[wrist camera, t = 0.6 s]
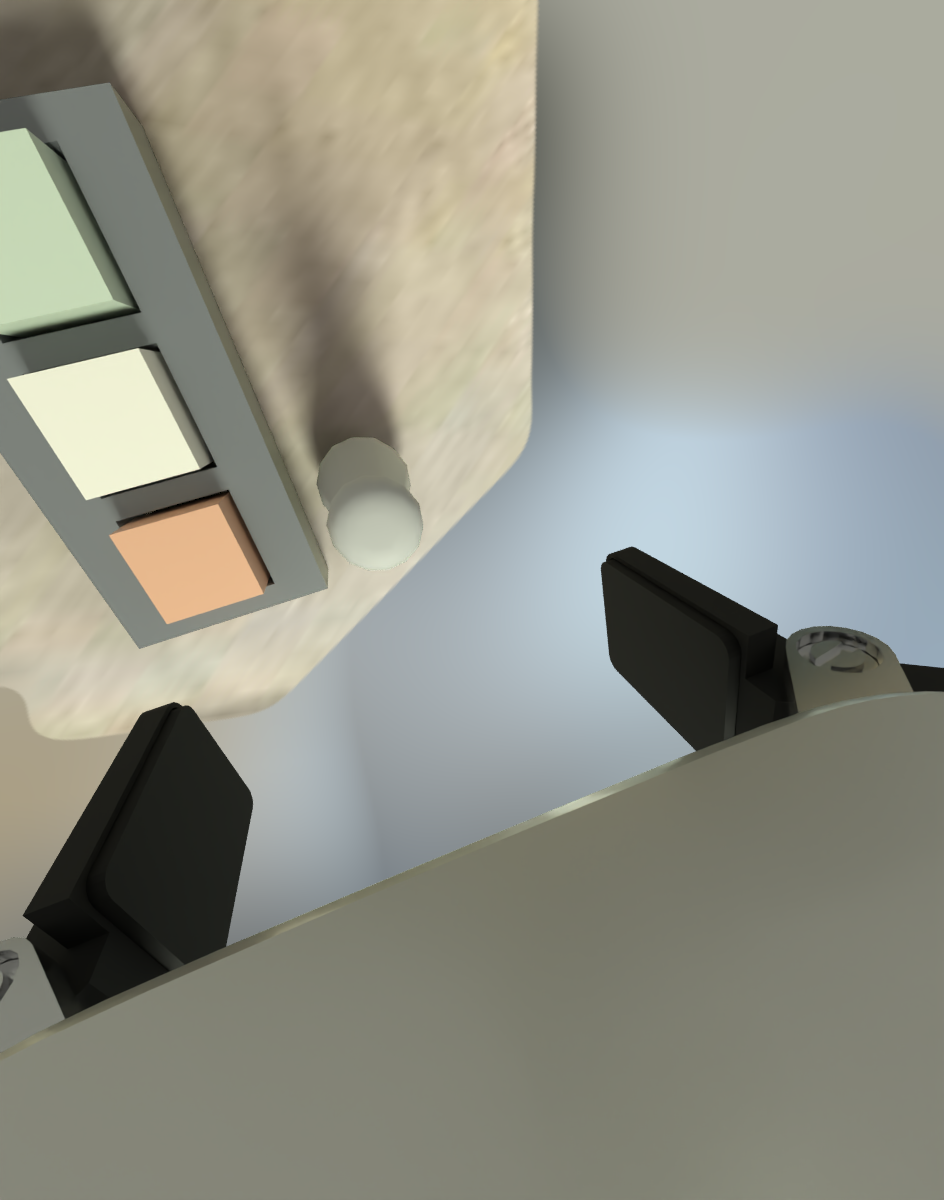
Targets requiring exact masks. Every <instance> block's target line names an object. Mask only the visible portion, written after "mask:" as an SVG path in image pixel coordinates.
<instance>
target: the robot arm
mask: <svg viewBox="0 0 944 1200" xmlns="http://www.w3.org/2000/svg"><path fill="white" fill-rule="evenodd" d="M601 575H602V585H603V596H604V606H605V616H606V626H607V637H608V647H609V655H610V660H611V662H612V664H613V666H614V668H615V669H616V670H617V671H618V672H619V673H620V674H621V675H622V676H623V677H624V678H625V679H626V680H627V681H628V682H629V683H630V684H631V685H632V686H633V687H634V688H635V689H636V690H637V692H638V693H639V694H641V696H642V697H643V698H645V700H647V702H648V703H649V704H650V705H651V706H652V707H653V708H654V709H655V710H656V711H657V712H658V713H659V714H660V715H661V716H662V717H663V718H664V719H666V721H667V722H668V723H669V724H670V725H671V726H672V727H673V728H674V729H675V730H676V731H677V732H678V733H679V734H680V735H681V736H682V737H683V738H684V739H685V740H686V741H687V742H688V743H689V744H690V745H691V746H692V747H693V748H694V749H695V750H696V752H693V753H691V754H688V755H686V756H683V757H680V758H678V759H676V760H673V761H671V762H669V763H666V764H663V765H661V766H659V767H656V768H654V769H651V770H649V771H647V772H644V773H641V774H639V775H637V776H634V777H632V778H629V779H627V780H624V781H622V782H620V783H617V784H615V785H612V786H610V787H607V788H605V789H602V790H600V791H598V792H595V793H593V794H590V795H588V796H585V797H583V798H581V799H578V800H576V801H573V802H571V803H568V804H566V805H563V806H561V807H558V808H556V809H554V810H551V811H549V812H546V813H544V814H542V815H539V816H537V817H535V818H532V819H530V820H527V821H525V822H522V823H520V824H518V825H515V826H513V827H510V828H508V829H505V830H503V831H501V832H498V833H496V834H493V835H491V836H489V837H486V838H484V839H481V840H479V841H477V842H474V843H472V844H469V845H467V846H465V847H462V848H460V849H457V850H455V851H453V852H450V853H448V854H445V855H443V856H441V857H438V858H436V859H433V860H431V861H429V862H426V863H424V864H421V865H419V866H417V867H414V868H412V869H409V870H407V871H405V872H402V873H400V874H397V875H395V876H393V877H390V878H388V879H385V880H383V881H381V882H378V883H376V884H374V885H372V886H369V887H366V888H364V889H362V890H360V891H357V892H355V893H352V894H350V895H348V896H345V897H343V898H340V899H338V900H336V901H334V902H331V903H329V904H327V905H324V906H322V907H319V908H317V909H315V910H312V911H310V912H308V913H305V914H303V915H300V916H298V917H296V918H293V919H291V920H288V921H286V922H284V923H281V924H279V925H277V926H274V927H272V928H269V929H267V930H265V931H262V932H260V933H258V934H255V935H253V936H251V937H248V938H246V939H243V940H241V941H239V942H236V943H234V944H232V945H229V946H227V947H226V943H227V938H228V933H229V928H230V923H231V917H232V913H233V907H234V902H235V897H236V892H237V886H238V881H239V876H240V871H241V866H242V861H243V856H244V850H245V845H246V840H247V834H248V830H249V824H250V819H251V813H252V809H253V800H252V796H251V792H250V790H249V789H248V787H247V786H246V784H245V783H244V782H243V780H242V779H241V777H240V776H239V774H238V773H237V772H236V770H235V769H234V767H233V766H232V764H231V763H230V762H229V760H228V759H227V757H226V756H225V754H224V753H223V752H222V750H221V749H220V747H219V746H218V745H217V743H216V741H215V740H214V739H213V737H212V736H211V734H210V733H209V731H208V730H207V729H206V727H205V726H204V724H203V723H202V721H201V720H200V718H199V717H198V716H197V714H196V713H195V711H194V710H193V709H192V708H191V707H190V706H183V707H182V706H181V705H180V704H178V703H175V702H173V703H170V704H167V705H164V706H161V707H158V708H155V709H152V710H149V711H146V712H144V713H142V714H141V715H140V717H139V718H138V720H137V722H136V723H135V725H134V727H133V729H132V730H131V732H130V734H129V736H128V737H127V739H126V740H125V742H124V744H123V746H122V747H121V749H120V751H119V752H118V754H117V756H116V758H115V759H114V761H113V763H112V764H111V766H110V768H109V769H108V771H107V773H106V775H105V776H104V778H103V780H102V781H101V783H100V785H99V787H98V788H97V790H96V792H95V793H94V795H93V797H92V799H91V800H90V802H89V804H88V805H87V807H86V809H85V811H84V812H83V814H82V816H81V817H80V819H79V821H78V822H77V824H76V826H75V827H74V829H73V831H72V833H71V834H70V836H69V838H68V839H67V841H66V843H65V844H64V846H63V848H62V850H61V851H60V853H59V855H58V856H57V858H56V860H55V861H54V863H53V865H52V867H51V868H50V870H49V872H48V873H47V875H46V877H45V879H44V880H43V882H42V884H41V885H40V887H39V889H38V890H37V892H36V894H35V896H34V897H33V899H32V901H31V902H30V904H29V906H28V907H27V909H26V911H25V913H24V914H23V916H24V917H25V918H26V919H28V920H29V921H30V922H32V923H33V924H34V925H33V927H32V929H31V931H30V933H29V934H28V936H27V938H15V937H13V938H10V939H7V940H4V941H0V1200H944V668H938V667H929V666H919V665H909V664H900V663H899V661H898V659H897V657H896V655H895V653H894V652H893V651H892V650H891V649H890V647H889V646H888V645H886V644H885V643H883V642H882V641H880V640H879V639H877V638H875V637H873V636H871V635H868V634H866V633H863V632H860V631H856V630H852V629H848V628H842V627H833V626H822V627H821V626H818V627H810V628H805V629H801V630H799V631H797V632H795V633H793V634H792V635H791V636H790V637H789V638H788V639H786V638H784V637H782V636H780V635H778V634H777V629H778V625H777V624H775V623H773V622H771V621H770V620H768V619H766V618H764V617H762V616H760V615H758V614H756V613H754V612H753V611H751V610H749V609H747V608H746V607H744V606H742V605H740V604H738V603H736V602H735V601H732V600H731V599H729V598H727V597H725V596H723V595H722V594H720V593H718V592H716V591H714V590H712V589H711V588H709V587H707V586H705V585H703V584H701V583H699V582H698V581H696V580H694V579H692V578H690V577H688V576H687V575H684V574H683V573H681V572H679V571H677V570H676V569H674V568H672V567H670V566H668V565H666V564H664V563H663V562H661V561H659V560H657V559H655V558H653V557H651V556H650V555H648V554H646V553H644V552H642V551H640V550H639V549H637V548H635V547H629V548H626V549H623V550H620V551H617V552H614V553H611V554H609V555H608V556H607V559H606V562H604V563H602V565H601Z"/></svg>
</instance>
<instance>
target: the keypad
mask: <svg viewBox="0 0 944 1200" xmlns="http://www.w3.org/2000/svg"><path fill="white" fill-rule="evenodd" d="M22 128H26V129H28V130H29V131H30V132H31V133H32V134H34V135H35V136H36V137H37V138H38V139H40V140H41V141H42V142H43V143H44V144H46V145H47V146H48V147H49V148H50V149H52V150H53V151H54V152H55V153H56V154H58V155H59V156H60V157H61V158H62V159H64V160H65V161H66V162H67V163H68V164H69V166H70V168H71V170H72V172H73V174H74V176H75V178H76V180H77V182H78V184H79V186H80V188H81V191H82V193H83V195H84V197H85V199H86V201H87V203H88V205H89V207H90V209H91V211H92V213H93V215H94V217H95V219H96V221H97V223H98V225H99V227H100V229H101V231H102V233H103V235H104V237H105V239H106V241H107V243H108V245H109V247H110V249H111V252H112V254H113V256H114V258H115V260H116V262H117V264H118V266H119V268H120V270H121V272H122V274H123V276H124V278H125V280H126V282H127V284H128V286H129V288H130V290H131V292H132V294H133V296H134V298H135V300H136V302H137V304H138V306H139V308H140V311H141V313H137V314H133V315H128V316H124V317H119V318H115V319H110V320H106V321H101V322H97V323H93V324H88V325H84V326H79V327H75V328H70V329H66V330H61V331H57V332H52V333H48V334H44V335H39V336H38V335H37V336H32V337H28V338H22V337H16V336H9V335H3V334H0V453H1V455H2V456H3V457H4V459H5V460H6V462H7V463H8V464H9V466H10V467H11V469H12V470H13V471H14V473H15V474H16V476H17V477H18V478H19V480H20V481H21V483H22V484H23V486H24V487H25V488H26V490H27V491H28V493H29V494H30V495H31V497H32V498H33V500H34V501H35V502H36V504H37V505H38V507H39V508H40V509H41V511H42V512H43V514H44V515H45V517H46V518H47V519H48V521H49V522H50V524H51V525H52V526H53V528H54V529H55V531H56V532H57V533H58V535H59V536H60V538H61V539H62V540H63V542H64V543H65V545H66V546H67V548H68V549H69V550H70V552H71V553H72V555H73V556H74V557H75V559H76V560H77V562H78V563H79V564H80V566H81V567H82V569H83V570H84V571H85V573H86V574H87V576H88V577H89V579H90V580H91V581H92V583H93V584H94V586H95V587H96V588H97V590H98V591H99V593H100V594H101V595H102V597H103V598H104V600H105V601H106V602H107V604H108V605H109V607H110V608H111V610H112V611H113V612H114V614H115V615H116V617H117V618H118V619H119V621H120V622H121V624H122V625H123V626H124V628H125V629H126V631H127V632H128V633H129V635H130V636H131V638H132V639H133V641H134V642H135V643H136V645H137V646H138V648H139V649H140V648H143V647H147V646H150V645H153V644H156V643H159V642H162V641H165V640H168V639H171V638H175V637H178V636H181V635H184V634H187V633H190V632H193V631H196V630H200V629H203V628H206V627H209V626H212V625H215V624H218V623H221V622H224V621H228V620H231V619H234V618H237V617H240V616H243V615H246V614H249V613H253V612H256V611H259V610H262V609H265V608H268V607H271V606H274V605H278V604H281V603H284V602H287V601H290V600H293V599H296V598H299V597H302V596H306V595H309V594H312V593H315V592H318V591H321V590H324V589H327V588H328V567H327V565H326V563H325V560H324V558H323V555H322V553H321V551H320V548H319V546H318V543H317V541H316V539H315V536H314V534H313V532H312V529H311V527H310V524H309V522H308V520H307V517H306V515H305V513H304V510H303V508H302V505H301V503H300V501H299V498H298V496H297V493H296V491H295V489H294V486H293V484H292V482H291V479H290V477H289V474H288V472H287V470H286V467H285V465H284V463H283V460H282V458H281V455H280V453H279V451H278V448H277V446H276V443H275V441H274V439H273V436H272V434H271V432H270V429H269V427H268V424H267V422H266V420H265V417H264V415H263V413H262V410H261V408H260V405H259V403H258V401H257V398H256V396H255V393H254V391H253V389H252V386H251V384H250V382H249V379H248V377H247V374H246V372H245V370H244V367H243V365H242V363H241V360H240V358H239V355H238V353H237V351H236V348H235V346H234V343H233V341H232V339H231V336H230V334H229V332H228V329H227V327H226V324H225V322H224V320H223V317H222V315H221V313H220V310H219V308H218V305H217V303H216V301H215V298H214V296H213V294H212V291H211V289H210V286H209V284H208V282H207V279H206V277H205V274H204V272H203V270H202V267H201V265H200V263H199V260H198V258H197V255H196V253H195V251H194V248H193V246H192V244H191V241H190V239H189V236H188V234H187V232H186V229H185V227H184V224H183V222H182V220H181V217H180V215H179V213H178V210H177V208H176V205H175V203H174V201H173V198H172V196H171V194H170V191H169V189H168V186H167V184H166V182H165V179H164V177H163V174H162V172H161V170H160V167H159V165H158V163H157V160H156V158H155V155H154V153H153V151H152V148H151V146H150V144H149V141H148V139H147V136H146V134H145V132H144V129H143V127H142V125H141V124H140V123H139V121H138V120H137V119H136V117H135V116H134V114H133V113H132V112H131V110H130V109H129V108H128V106H127V105H126V104H125V102H124V101H123V100H122V98H121V97H120V96H119V94H118V93H117V92H116V90H115V89H114V88H113V86H112V85H111V84H110V82H109V83H103V84H97V85H90V86H84V87H78V88H71V89H65V90H59V91H52V92H46V93H39V94H33V95H27V96H20V97H14V98H8V99H1V100H0V132H4V131H10V130H16V129H22ZM137 348H140V349H145V350H151V351H156V352H161V353H162V355H163V357H164V359H165V361H166V363H167V365H168V367H169V370H170V372H171V374H172V376H173V378H174V380H175V382H176V384H177V386H178V388H179V390H180V392H181V394H182V396H183V398H184V400H185V402H186V404H187V406H188V408H189V410H190V412H191V414H192V416H193V418H194V420H195V422H196V424H197V426H198V429H199V431H200V433H201V435H202V437H203V439H204V441H205V443H206V445H207V447H208V449H209V451H210V453H211V455H212V457H213V459H214V461H215V462H214V463H211V464H207V465H206V466H204V467H203V468H201V469H198V470H195V471H191V472H187V473H184V474H180V475H177V476H173V477H169V478H166V479H162V480H158V481H155V482H151V483H147V484H144V485H140V486H136V487H133V488H129V489H125V490H122V491H118V492H114V493H111V494H107V495H104V496H100V497H96V498H93V499H89V500H85V498H84V497H83V495H82V493H81V492H80V490H79V489H78V487H77V486H76V484H75V483H74V481H73V480H72V478H71V477H70V475H69V474H68V472H67V471H66V469H65V467H64V466H63V464H62V463H61V461H60V460H59V458H58V457H57V455H56V454H55V452H54V451H53V449H52V448H51V446H50V444H49V443H48V441H47V440H46V438H45V437H44V435H43V434H42V432H41V431H40V429H39V428H38V426H37V425H36V423H35V422H34V420H33V418H32V417H31V415H30V414H29V412H28V411H27V409H26V408H25V406H24V405H23V403H22V402H21V400H20V399H19V397H18V395H17V394H16V392H15V391H14V389H13V388H12V386H11V385H10V383H9V382H8V380H7V379H9V378H13V377H17V376H22V375H26V374H30V373H34V372H39V371H43V370H47V369H51V368H56V367H60V366H64V365H68V364H73V363H77V362H81V361H86V360H90V359H94V358H98V357H103V356H107V355H111V354H115V353H120V352H124V351H128V350H132V349H137ZM225 490H229V492H230V494H231V496H232V498H233V500H234V502H235V504H236V506H237V508H238V510H239V512H240V514H241V516H242V518H243V520H244V522H245V524H246V526H247V528H248V530H249V532H250V534H251V536H252V538H253V540H254V542H255V544H256V546H257V549H258V551H259V553H260V555H261V557H262V559H263V561H264V563H265V565H266V567H267V569H268V571H269V573H270V577H269V580H268V583H267V586H266V589H265V592H264V594H261V595H258V596H255V597H252V598H249V599H246V600H242V601H239V602H236V603H233V604H230V605H227V606H224V607H220V608H217V609H214V610H211V611H208V612H205V613H201V614H198V615H195V616H192V617H189V618H186V619H182V620H179V621H176V622H173V623H170V624H166V622H165V621H164V619H163V618H162V616H161V614H160V613H159V611H158V610H157V608H156V607H155V605H154V604H153V602H152V601H151V599H150V598H149V596H148V595H147V593H146V592H145V590H144V588H143V587H142V585H141V584H140V582H139V581H138V579H137V578H136V576H135V575H134V573H133V572H132V570H131V569H130V567H129V565H128V564H127V562H126V561H125V559H124V558H123V556H122V555H121V553H120V552H119V550H118V549H117V547H116V546H115V544H114V543H113V541H112V539H111V538H110V536H109V535H110V534H111V533H113V532H114V531H116V530H118V529H119V528H121V527H122V526H124V525H125V524H127V523H128V522H130V521H131V520H133V519H134V518H136V517H140V516H143V515H145V514H144V513H148V512H151V511H155V510H158V509H162V508H165V507H169V506H172V505H176V504H179V503H183V502H186V501H190V500H194V499H197V498H201V497H204V496H208V495H211V494H215V493H218V492H222V491H225Z"/></svg>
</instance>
